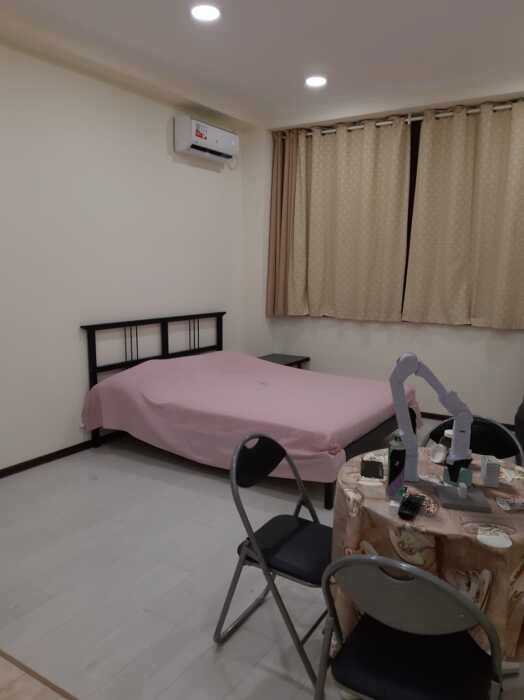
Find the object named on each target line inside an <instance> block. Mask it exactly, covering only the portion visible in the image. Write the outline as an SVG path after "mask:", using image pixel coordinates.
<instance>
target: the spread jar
mask: <svg viewBox="0 0 524 700" xmlns="http://www.w3.org/2000/svg"><path fill="white" fill-rule="evenodd" d="M452 431H453V429H446V430H444V436H442V437H441V438H440V440H439V442H438V444H435V445H433V446H432V447H431V449H430V452H429V457H430V460H431V461H432V462H433V463H436V464H441V463H445V460H447V458H448V457H449V454H450V452H451V444H452Z"/></svg>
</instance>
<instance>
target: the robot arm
mask: <svg viewBox="0 0 524 700" xmlns="http://www.w3.org/2000/svg"><path fill="white" fill-rule="evenodd" d="M427 365H428V364H425V362H423V360H422V359H420V358H418V357H417V355H416V354H415V353H413V352H411V351H407V352H403V353H402V354H401V355H400V356H399V357H398V358H397V359H396V361H395V363H394V366H393V368H392V371H391V372H390V375H389V377H388V378H389V379H388V382H389V387H390V392H391V397H392V401H393V407H394V412H395V417H396V423H397V426H398V433H399V436H401V440H402V441H403V442H404V443H406V459H405V474H404V482H412V483H419V482H420V480H419V477H418V476H419V475H418V464H419V463H418V462H419V451H418V450H419V444H418V437H417V435H416V433H415V432H414V430H413V426H412V425H413V424H412V421H411V416H410V412H409V411H410V410H409V407H408V405H409V404H408V401H407V396H406V391H405V386H404V385H405V384H404V383H405V381H406V380H407V379H408V377H410V376H412V375H413V374H414V376H416V377H418V378H419V377H420V378H422V379H423V380H425V382H426V383H428V385H429V386H430V387H431V388H432V389H433V390H434V391H435V392H436V394H437V401H438V402H439V403H440V404H441V405H442V406H443V408H444V409H445V410H446V411H447V413H448V414H450V415H452V417H453V418H454V420H453V426H452V430H453V431H452V444H451V452H450V454H449V457H448V458H447V460H445V462H444V464H445V467H447V468H448V472H449V477H450V481H452V482H455V483H456V482H457V480H458V476H459V472H460V469H461V468H465V469H469V468H470V465H471V464H472V462H473V461H474V458H473V456H472V453H473V452H472V451H473V450H472V449H470V443H471V433H472V432H471V426H472V424H473V422H474V417H473V414H472V411H471V410H470V408H469V406H467V405H468V404H467V403H466V402H463V401H462V399H461V398H460V397H459V396H458V392H457V391H456V390H453V389H452V388H446V387H445V386H444V385H443V383H442V381H440V379H438V377H437V376H436V375H435V374H434V373H433V371H432V370H431V369H430V368H429V367H428V366H427Z"/></svg>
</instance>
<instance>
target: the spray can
mask: <svg viewBox="0 0 524 700" xmlns="http://www.w3.org/2000/svg"><path fill="white" fill-rule="evenodd" d="M405 459H406V443H404V442H403V441H402V440H401V436H400V435H395V436H394V438H393V439H392V440H391V441H389V442H388V450H387V465H386V478H385V479H386V481H385V496H386V497H387V498H388V499H392V500H401V498H402V497H403V498H404V488H405V487H404V485H405V481H404V474H405ZM403 498H402V499H403Z"/></svg>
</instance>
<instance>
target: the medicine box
mask: <svg viewBox="0 0 524 700" xmlns="http://www.w3.org/2000/svg"><path fill="white" fill-rule="evenodd" d="M500 474H501V463H500V462H499V460H498V459H497V457H496V456H494V455H482V456H481V463H480V475H479V477H480V478H479V479H480V480H481V482H482V483H483V485H484V486H485V487H486V488H493V489H494V488H495V489H499V488H500V487H499V486H500Z"/></svg>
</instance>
